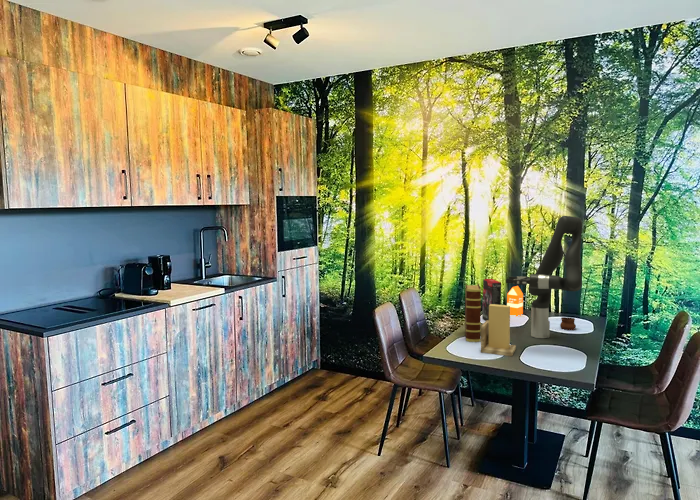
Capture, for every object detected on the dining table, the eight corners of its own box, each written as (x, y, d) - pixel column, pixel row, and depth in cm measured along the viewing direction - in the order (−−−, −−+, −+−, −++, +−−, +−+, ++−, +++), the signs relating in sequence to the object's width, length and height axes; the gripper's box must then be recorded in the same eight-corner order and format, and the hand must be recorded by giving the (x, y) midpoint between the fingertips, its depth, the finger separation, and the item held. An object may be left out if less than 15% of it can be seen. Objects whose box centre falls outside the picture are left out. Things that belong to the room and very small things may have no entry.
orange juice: (522, 314, 335) (523, 286, 333) (517, 316, 328) (517, 287, 327) (512, 312, 340) (512, 285, 339) (506, 314, 334) (507, 286, 332)
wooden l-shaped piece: (516, 349, 254) (516, 323, 253) (511, 356, 242) (512, 329, 240) (486, 345, 261) (486, 320, 260) (480, 352, 249) (481, 326, 247)
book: (490, 344, 255) (490, 304, 253) (509, 347, 251) (510, 305, 249) (488, 346, 252) (488, 305, 250) (508, 349, 247) (508, 307, 245)
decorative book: (480, 342, 267) (481, 289, 265) (466, 341, 269) (466, 289, 266) (478, 332, 289) (478, 283, 287) (464, 331, 291) (465, 282, 288)
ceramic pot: (559, 332, 285) (559, 321, 285) (547, 326, 303) (547, 315, 303) (589, 333, 285) (590, 321, 285) (576, 326, 303) (576, 315, 302)
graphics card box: (481, 318, 324) (482, 278, 322) (491, 318, 325) (492, 278, 323) (491, 324, 308) (491, 282, 305) (501, 324, 308) (502, 282, 306)
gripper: (541, 272, 257) (509, 271, 264) (538, 276, 244) (505, 274, 252) (540, 286, 258) (509, 284, 265) (538, 290, 245) (505, 288, 252)
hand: (507, 279), depth 258 cm, fingers open, 8 cm apart
